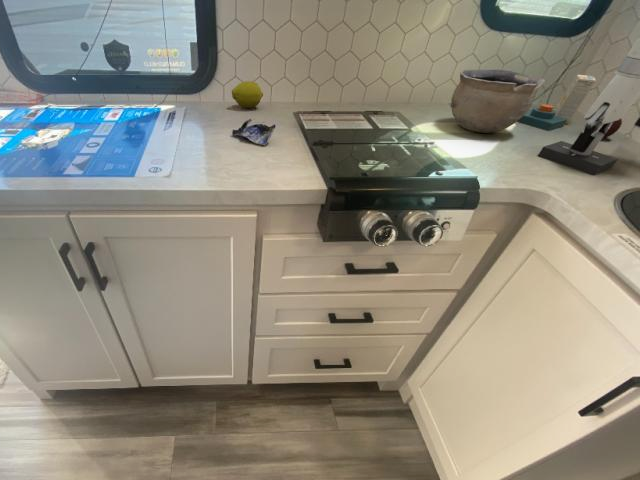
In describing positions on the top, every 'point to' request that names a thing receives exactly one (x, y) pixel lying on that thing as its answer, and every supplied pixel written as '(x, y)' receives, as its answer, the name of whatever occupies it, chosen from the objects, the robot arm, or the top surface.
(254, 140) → the snack package
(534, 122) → the block
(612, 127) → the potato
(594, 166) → the dial base
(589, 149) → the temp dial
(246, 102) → the lemon
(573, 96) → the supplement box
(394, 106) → the top surface
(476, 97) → the ceramic bowl
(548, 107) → the button
